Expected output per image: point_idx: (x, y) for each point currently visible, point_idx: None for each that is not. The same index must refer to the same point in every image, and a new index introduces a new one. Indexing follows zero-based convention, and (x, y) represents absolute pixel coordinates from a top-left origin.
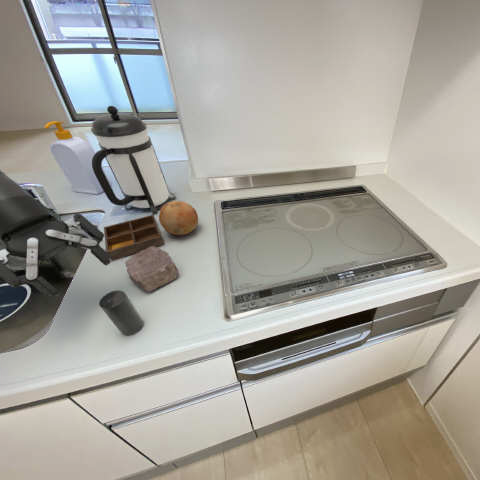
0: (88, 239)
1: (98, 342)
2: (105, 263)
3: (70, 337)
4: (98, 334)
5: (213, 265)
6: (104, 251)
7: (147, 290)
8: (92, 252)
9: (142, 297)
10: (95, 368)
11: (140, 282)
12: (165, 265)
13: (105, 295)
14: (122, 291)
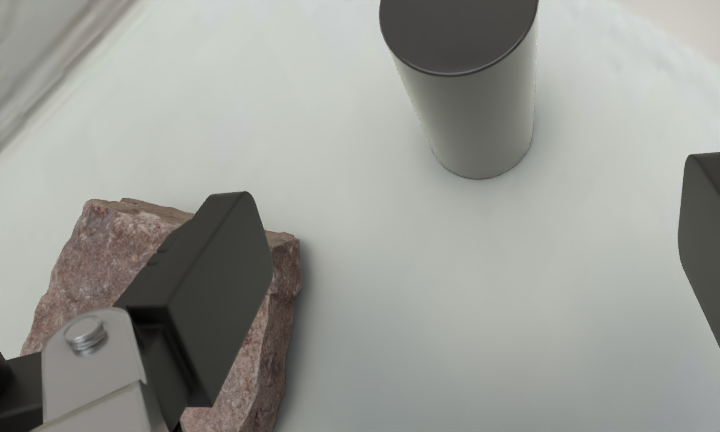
0: (53, 389)
1: (625, 184)
2: (257, 234)
3: (699, 343)
4: (600, 231)
5: (43, 141)
6: (150, 267)
7: (294, 238)
8: (208, 360)
9: (337, 260)
10: (708, 61)
11: (272, 246)
12: (118, 218)
13: (461, 66)
14: (381, 14)
